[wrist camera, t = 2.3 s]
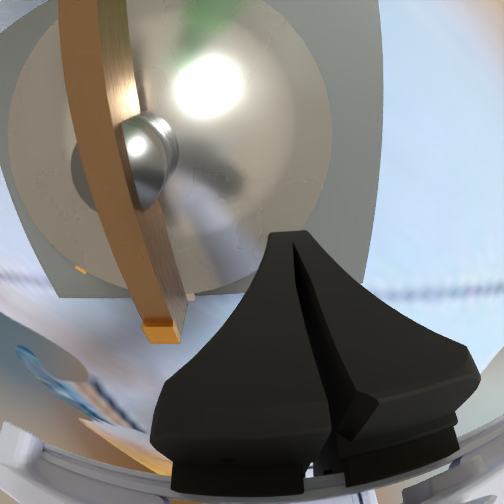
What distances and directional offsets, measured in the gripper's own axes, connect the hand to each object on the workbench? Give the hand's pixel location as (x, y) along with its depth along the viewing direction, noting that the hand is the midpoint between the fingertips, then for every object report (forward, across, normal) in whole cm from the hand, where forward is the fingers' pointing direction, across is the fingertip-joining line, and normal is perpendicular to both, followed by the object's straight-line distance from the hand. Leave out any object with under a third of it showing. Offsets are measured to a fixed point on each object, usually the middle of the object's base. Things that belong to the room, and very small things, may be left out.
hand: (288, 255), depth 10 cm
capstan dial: (+2, +5, -4) cm, 7 cm away
